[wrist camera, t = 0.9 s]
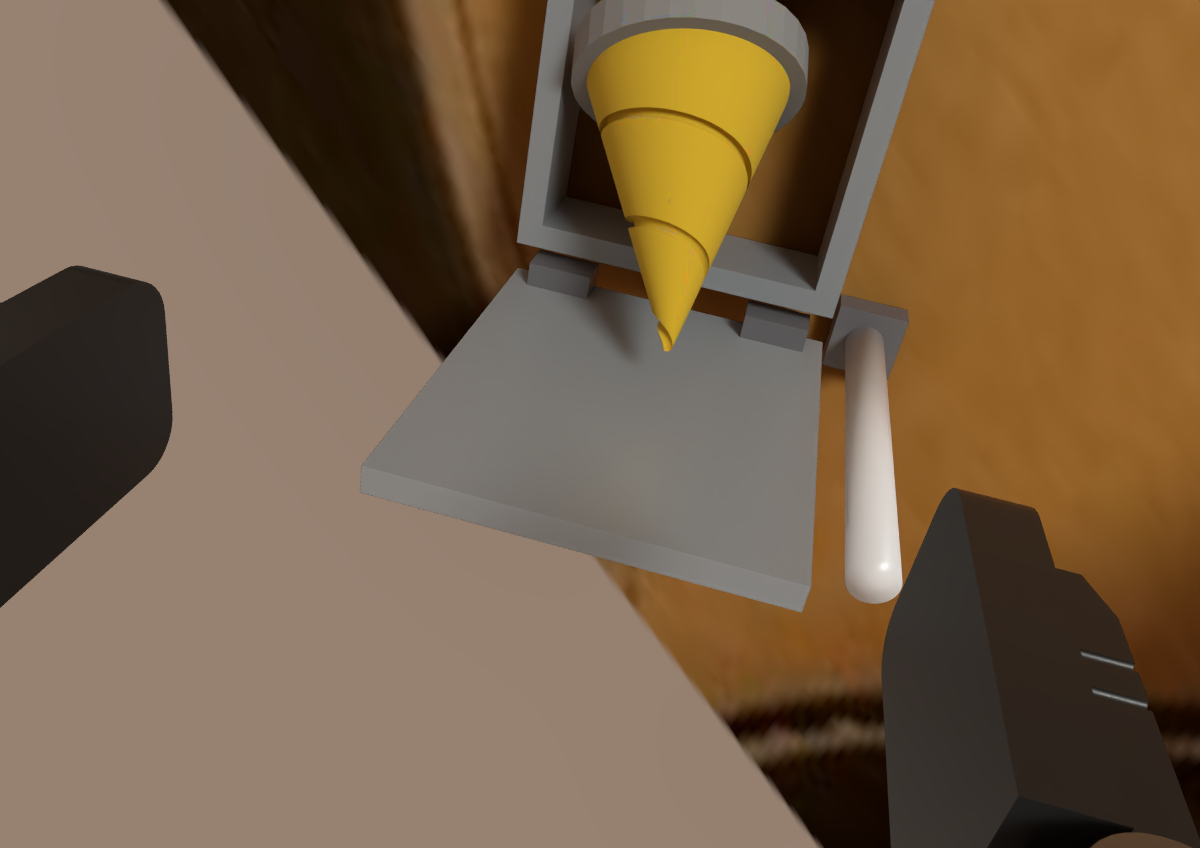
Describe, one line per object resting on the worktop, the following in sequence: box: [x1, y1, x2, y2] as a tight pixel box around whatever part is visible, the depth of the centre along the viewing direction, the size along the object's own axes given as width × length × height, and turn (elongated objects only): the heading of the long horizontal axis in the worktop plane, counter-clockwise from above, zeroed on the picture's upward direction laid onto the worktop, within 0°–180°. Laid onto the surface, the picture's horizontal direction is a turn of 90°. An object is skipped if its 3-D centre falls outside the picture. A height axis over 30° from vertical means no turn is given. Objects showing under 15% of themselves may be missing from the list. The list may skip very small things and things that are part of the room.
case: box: [360, 0, 935, 612], centre depth 20 cm, size 10×10×12 cm
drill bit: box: [571, 0, 809, 351], centre depth 22 cm, size 5×5×10 cm
